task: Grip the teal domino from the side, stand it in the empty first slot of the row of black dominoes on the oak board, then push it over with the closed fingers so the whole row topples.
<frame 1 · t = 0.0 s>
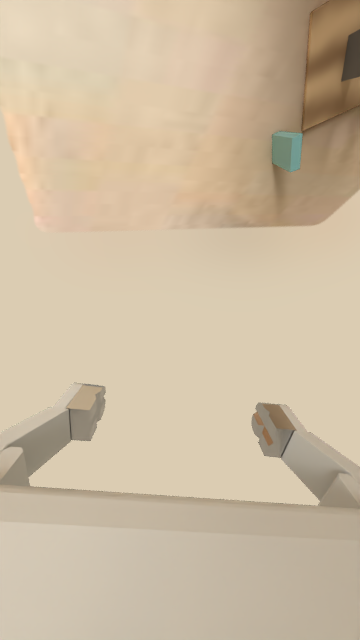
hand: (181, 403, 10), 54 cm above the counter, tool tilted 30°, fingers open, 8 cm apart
domino 1: (275, 147, 41), on the counter
domino 2: (350, 56, 31), point 1 cm above the counter, touching oak board
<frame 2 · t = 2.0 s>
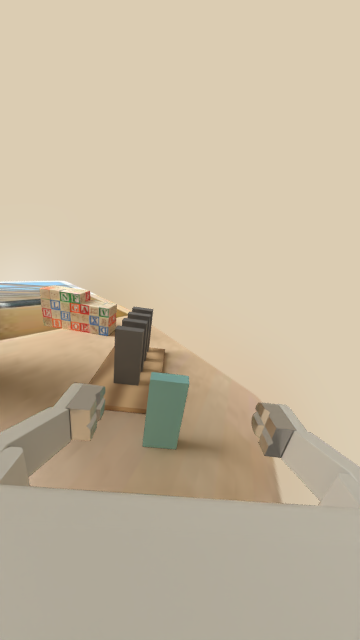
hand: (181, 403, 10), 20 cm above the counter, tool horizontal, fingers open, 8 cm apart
domino 4: (136, 358, 46), point 1 cm above the counter, touching oak board
domino 5: (139, 349, 50), point 1 cm above the counter, touching oak board
domino 1: (159, 442, 27), on the counter
stack of blocks: (81, 328, 60), on the counter
domino 3: (131, 368, 42), point 1 cm above the counter, touching oak board
domino 2: (126, 381, 37), point 1 cm above the counter, touching oak board
oak board: (131, 372, 42), on the counter
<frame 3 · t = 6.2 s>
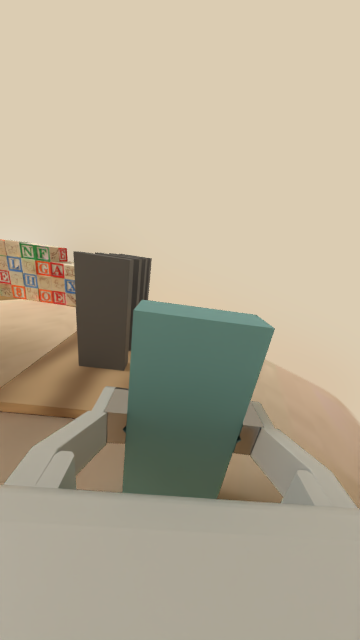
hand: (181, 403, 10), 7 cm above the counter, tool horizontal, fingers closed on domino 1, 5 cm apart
domino 4: (125, 333, 29), point 1 cm above the counter, touching oak board
domino 5: (131, 323, 34), point 1 cm above the counter, touching oak board
domino 1: (166, 500, 11), on the counter, touching gripper
stack of blocks: (55, 300, 44), on the counter
domino 3: (116, 346, 25), point 1 cm above the counter, touching oak board
domino 2: (104, 364, 21), point 1 cm above the counter, touching oak board
oak board: (116, 352, 25), on the counter
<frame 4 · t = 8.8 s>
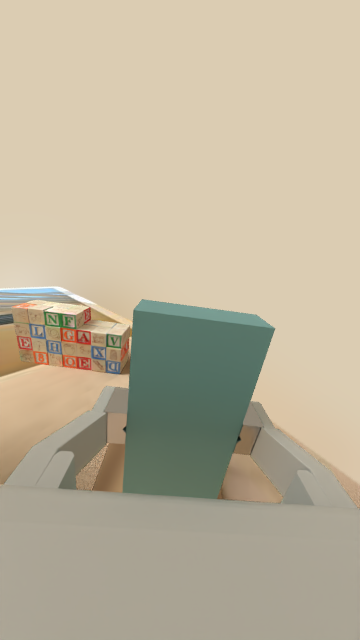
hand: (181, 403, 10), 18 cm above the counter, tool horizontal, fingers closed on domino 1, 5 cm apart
domino 1: (166, 500, 11), point 11 cm above the counter, touching gripper
stack of blocks: (78, 361, 41), on the counter
oak board: (160, 465, 23), on the counter
when the fingers open (9 cm above the counter, at t = 11.5 s): domino 1 drops 1 cm, resting on oak board.
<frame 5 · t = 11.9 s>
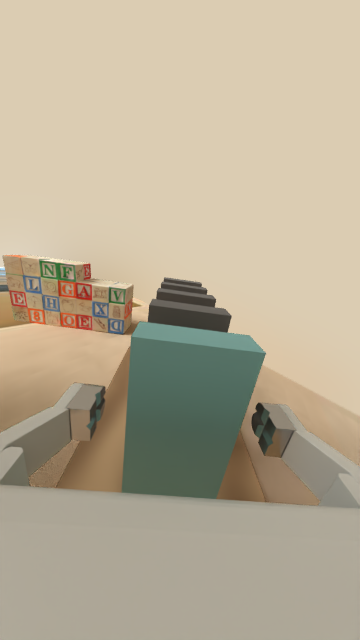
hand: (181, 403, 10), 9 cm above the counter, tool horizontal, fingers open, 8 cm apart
domino 4: (170, 375, 24), point 1 cm above the counter, touching oak board
domino 1: (163, 510, 11), point 1 cm above the counter, touching oak board
stack of blocks: (77, 323, 38), on the counter
domino 3: (169, 401, 20), point 1 cm above the counter, touching oak board
domino 2: (167, 440, 15), point 1 cm above the counter, touching oak board
oak board: (168, 408, 20), on the counter
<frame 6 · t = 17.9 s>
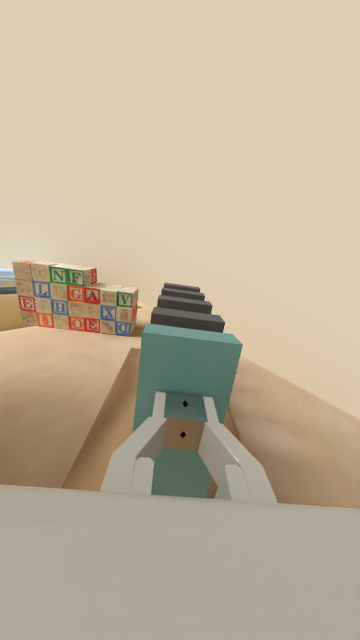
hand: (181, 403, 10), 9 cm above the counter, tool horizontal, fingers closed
domino 4: (170, 376, 25), point 1 cm above the counter, touching oak board
domino 1: (164, 496, 12), point 1 cm above the counter, tilted 5°, touching gripper, oak board
stack of blocks: (84, 326, 39), on the counter
domino 3: (169, 400, 21), point 1 cm above the counter, touching oak board
domino 2: (167, 436, 17), point 1 cm above the counter, touching oak board
oak board: (168, 406, 21), on the counter
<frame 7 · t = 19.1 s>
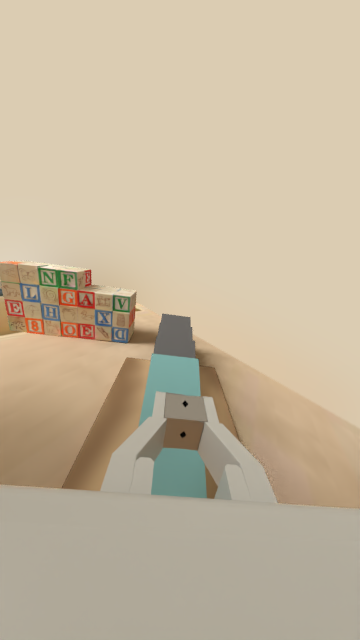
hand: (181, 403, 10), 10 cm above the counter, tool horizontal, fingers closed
domino 4: (171, 378, 23), point 2 cm above the counter, tilted 68°, touching domino 3, domino 5
domino 1: (163, 527, 11), point 2 cm above the counter, tilted 69°, touching domino 2, oak board
stack of blocks: (78, 332, 36), on the counter
domino 3: (169, 406, 19), point 2 cm above the counter, tilted 68°, touching domino 2, domino 4, oak board
domino 2: (167, 451, 15), point 2 cm above the counter, tilted 69°, touching domino 1, domino 3, oak board
oak board: (166, 430, 18), on the counter
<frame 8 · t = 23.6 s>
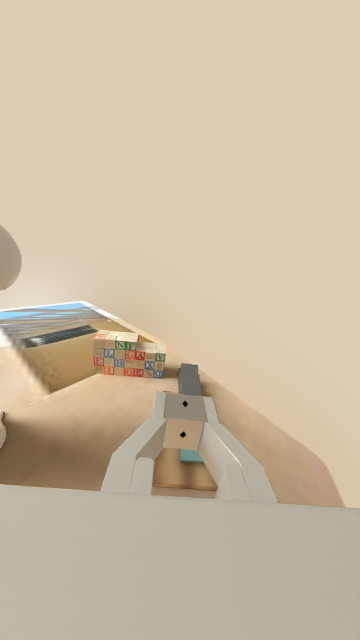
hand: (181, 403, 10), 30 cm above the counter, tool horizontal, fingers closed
domino 4: (189, 404, 47), point 2 cm above the counter, tilted 68°, touching domino 3, domino 5
domino 5: (188, 393, 51), point 2 cm above the counter, tilted 95°, touching domino 4, oak board
domino 1: (194, 461, 34), point 2 cm above the counter, tilted 69°, touching domino 2, oak board
stack of blocks: (130, 371, 60), on the counter
domino 3: (190, 420, 42), point 2 cm above the counter, tilted 68°, touching domino 2, domino 4, oak board
domino 2: (192, 439, 38), point 2 cm above the counter, tilted 69°, touching domino 1, domino 3, oak board
oak board: (189, 431, 42), on the counter
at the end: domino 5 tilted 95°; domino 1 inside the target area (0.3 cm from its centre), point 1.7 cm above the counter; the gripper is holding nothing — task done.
